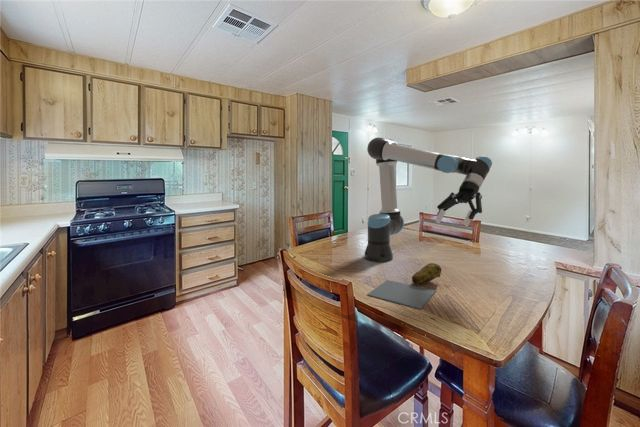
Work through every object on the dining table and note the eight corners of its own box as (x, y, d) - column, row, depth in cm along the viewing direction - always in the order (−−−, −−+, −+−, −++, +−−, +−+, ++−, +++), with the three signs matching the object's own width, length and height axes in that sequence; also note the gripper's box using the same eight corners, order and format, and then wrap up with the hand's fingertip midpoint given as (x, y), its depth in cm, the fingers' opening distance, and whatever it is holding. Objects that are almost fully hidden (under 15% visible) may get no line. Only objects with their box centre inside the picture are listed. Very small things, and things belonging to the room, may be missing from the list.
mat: (367, 295, 107) (367, 294, 107) (387, 280, 122) (387, 279, 122) (420, 309, 95) (420, 308, 95) (436, 291, 110) (436, 290, 110)
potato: (407, 279, 123) (407, 261, 122) (436, 278, 123) (437, 260, 122) (414, 287, 114) (414, 268, 113) (445, 286, 115) (446, 267, 114)
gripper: (503, 190, 119) (482, 231, 114) (450, 191, 141) (430, 225, 135) (495, 179, 116) (474, 220, 111) (442, 181, 138) (422, 216, 132)
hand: (450, 223), depth 123 cm, fingers open, 13 cm apart
